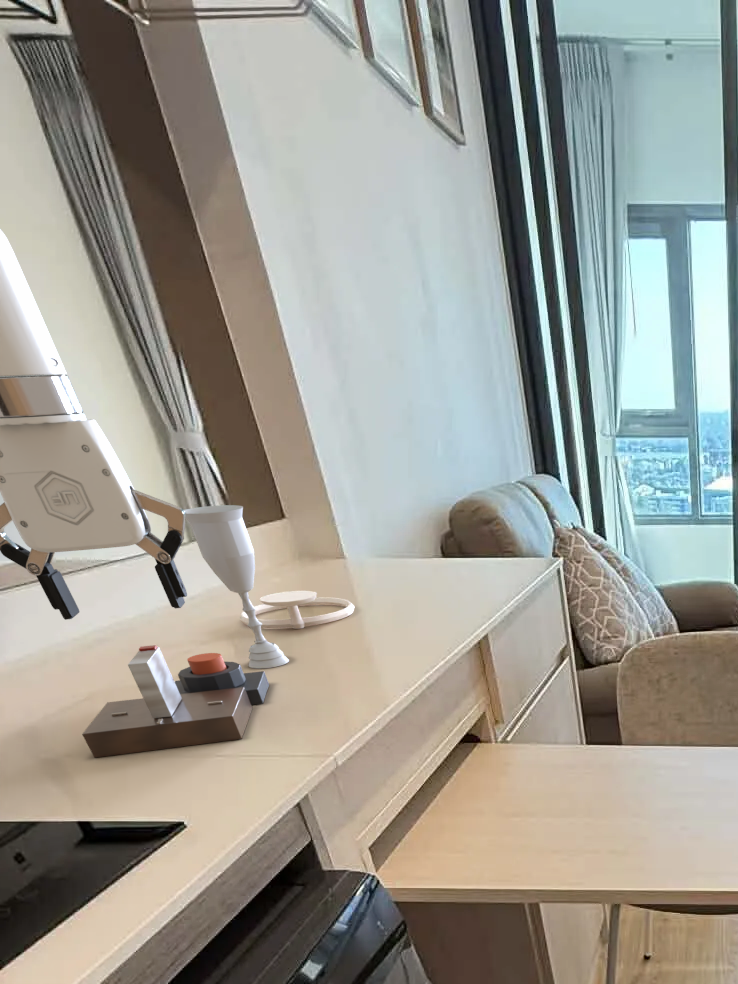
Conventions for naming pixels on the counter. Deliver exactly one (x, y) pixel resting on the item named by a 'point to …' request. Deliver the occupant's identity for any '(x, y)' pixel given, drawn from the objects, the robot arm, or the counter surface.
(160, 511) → the robot arm
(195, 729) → the block
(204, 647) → the counter surface
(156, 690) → the grey metal plate
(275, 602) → the hand towel holder
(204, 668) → the button
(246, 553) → the chalice
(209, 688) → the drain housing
